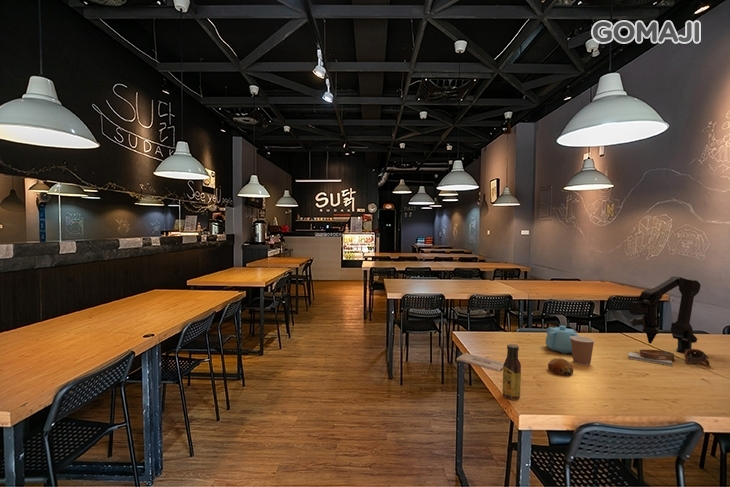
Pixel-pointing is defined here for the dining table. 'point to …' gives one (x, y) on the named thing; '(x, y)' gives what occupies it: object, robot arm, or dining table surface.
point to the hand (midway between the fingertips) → (649, 343)
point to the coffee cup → (582, 349)
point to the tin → (657, 354)
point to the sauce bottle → (512, 373)
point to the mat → (638, 357)
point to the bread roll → (560, 367)
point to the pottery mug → (695, 356)
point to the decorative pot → (560, 339)
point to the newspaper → (481, 361)
